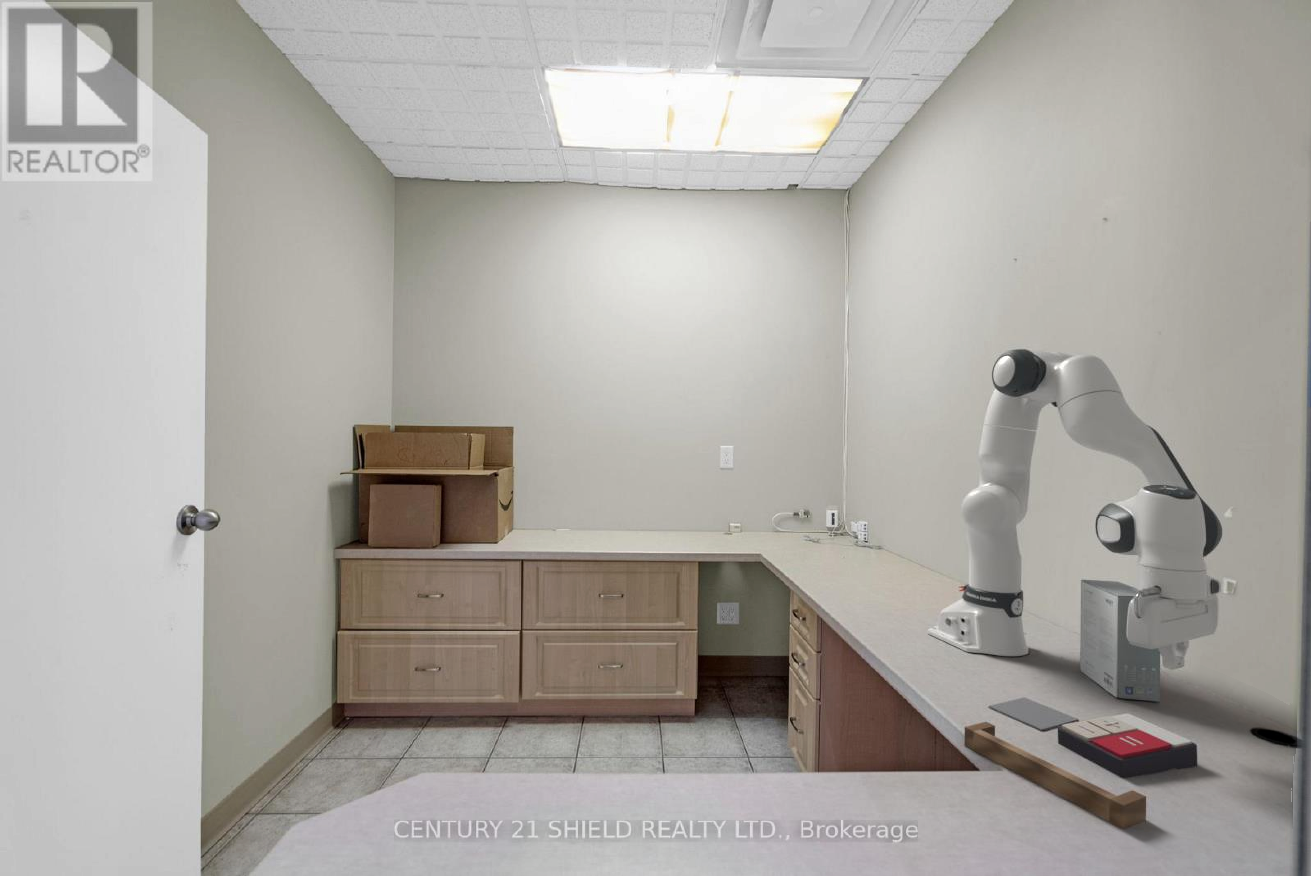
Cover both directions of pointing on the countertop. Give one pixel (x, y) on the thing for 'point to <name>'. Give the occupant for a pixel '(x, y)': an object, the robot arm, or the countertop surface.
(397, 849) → the countertop surface
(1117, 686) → the hard drive box
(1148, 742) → the calculator
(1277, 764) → the countertop surface
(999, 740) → the brown wooden handle
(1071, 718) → the rest mat
